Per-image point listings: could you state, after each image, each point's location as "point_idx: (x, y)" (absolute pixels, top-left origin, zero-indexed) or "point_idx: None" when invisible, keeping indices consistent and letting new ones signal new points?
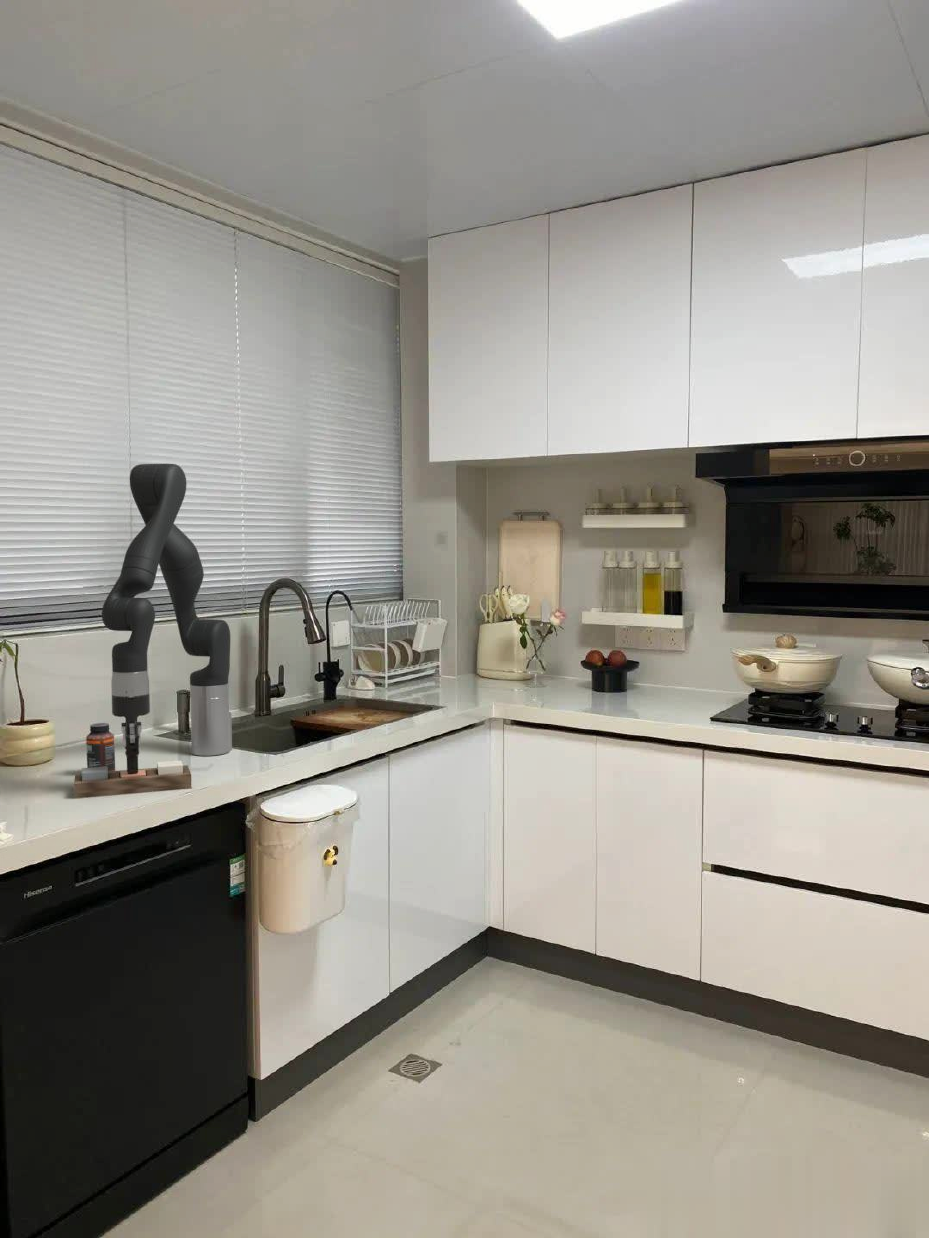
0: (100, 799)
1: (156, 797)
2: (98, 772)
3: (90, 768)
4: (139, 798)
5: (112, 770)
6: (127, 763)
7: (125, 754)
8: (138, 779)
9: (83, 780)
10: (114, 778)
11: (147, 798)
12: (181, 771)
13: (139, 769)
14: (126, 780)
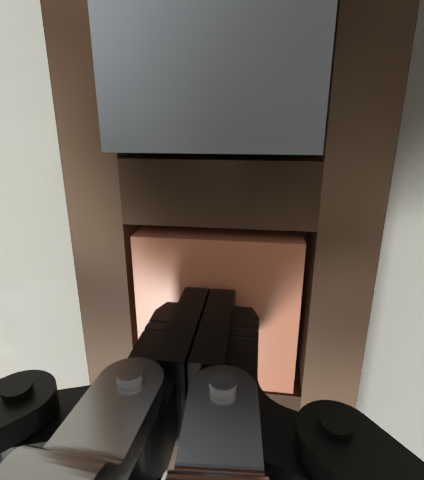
0: (30, 96)
1: (17, 345)
2: (95, 67)
3: None
4: (14, 281)
5: None
6: (170, 326)
7: (129, 368)
8: (85, 325)
9: None
10: (126, 192)
11: (8, 311)
12: None
13: (344, 364)
14: (78, 261)
